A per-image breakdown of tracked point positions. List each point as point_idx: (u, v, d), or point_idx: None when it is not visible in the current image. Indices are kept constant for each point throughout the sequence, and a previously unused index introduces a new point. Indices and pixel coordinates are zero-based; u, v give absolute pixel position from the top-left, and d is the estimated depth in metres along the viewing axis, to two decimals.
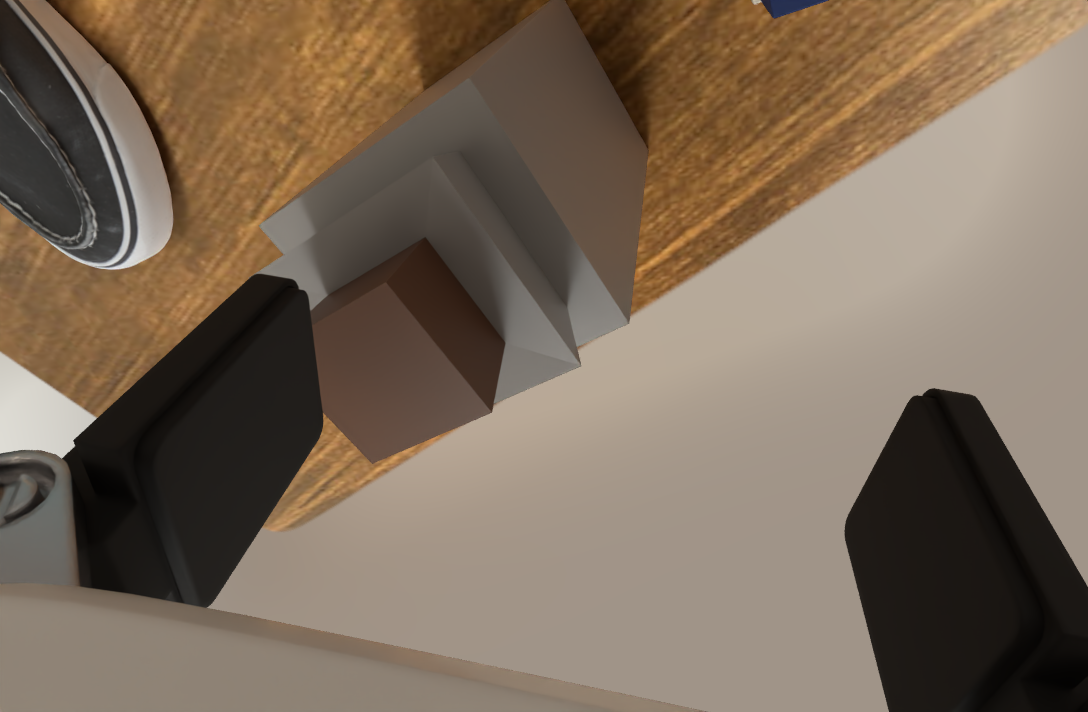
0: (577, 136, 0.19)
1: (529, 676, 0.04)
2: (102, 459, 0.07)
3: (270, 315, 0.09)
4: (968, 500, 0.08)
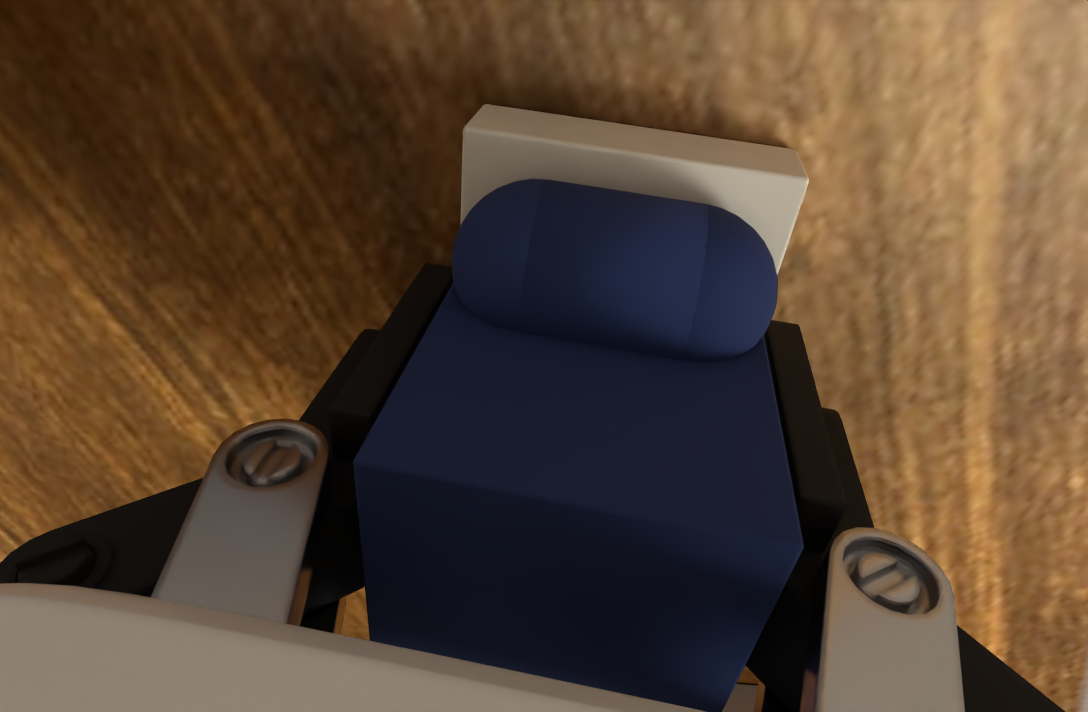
0: None
1: (529, 676, 0.04)
2: (351, 427, 0.08)
3: None
4: None
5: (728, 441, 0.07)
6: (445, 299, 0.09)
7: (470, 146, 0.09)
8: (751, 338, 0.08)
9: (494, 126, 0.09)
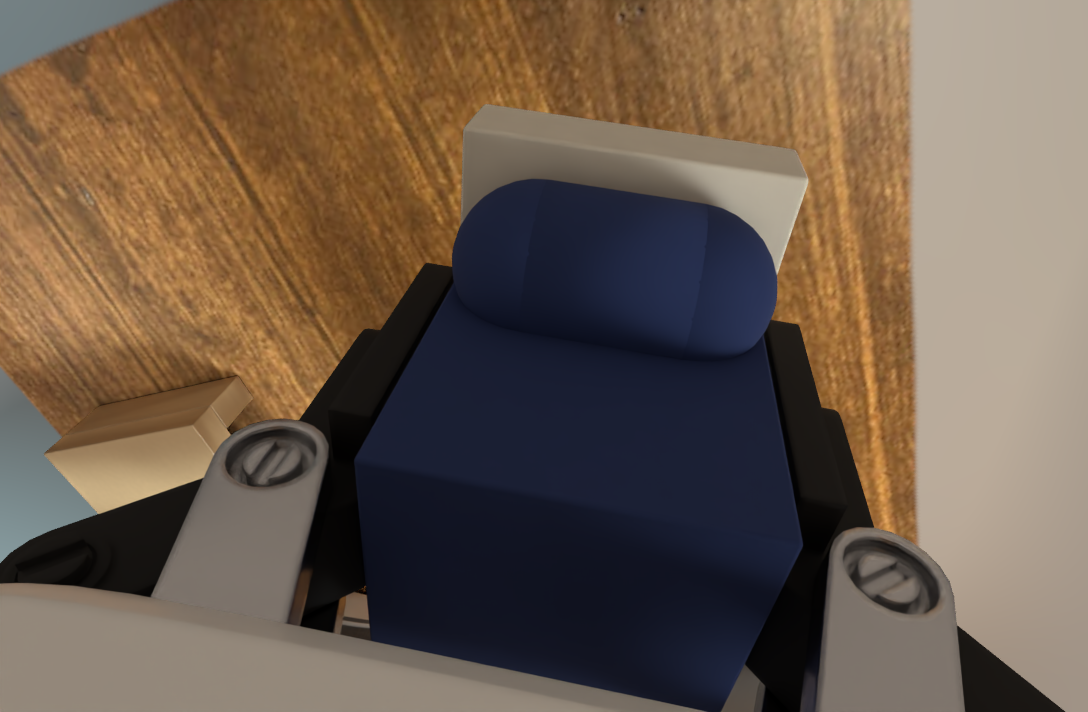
0: None
1: (529, 676, 0.04)
2: (351, 427, 0.08)
3: None
4: None
5: (728, 440, 0.07)
6: (445, 299, 0.09)
7: (470, 146, 0.09)
8: (750, 338, 0.08)
9: (494, 126, 0.09)
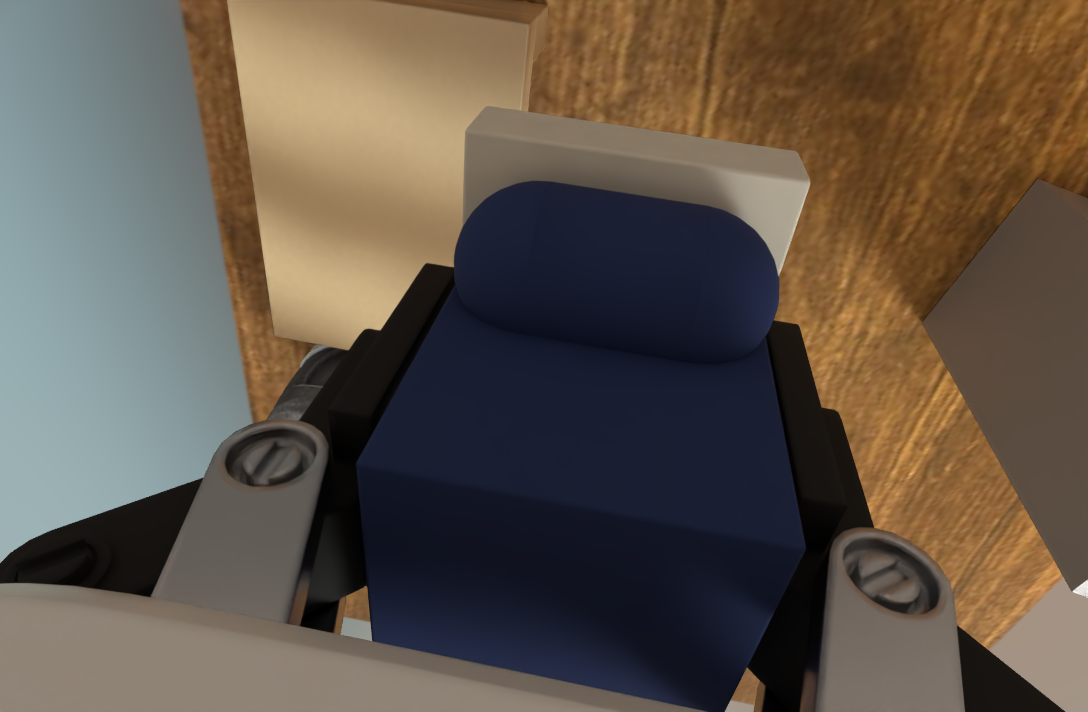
0: None
1: (529, 676, 0.04)
2: (351, 427, 0.08)
3: None
4: None
5: (731, 443, 0.07)
6: (447, 301, 0.09)
7: (472, 148, 0.09)
8: (753, 340, 0.08)
9: (496, 128, 0.09)
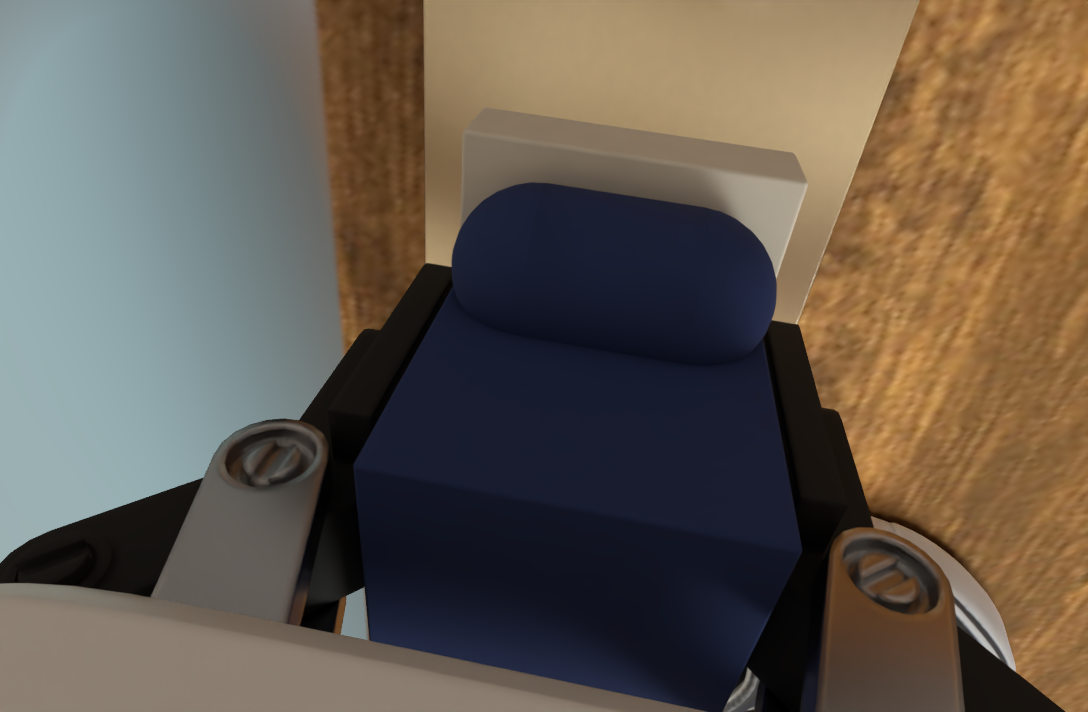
0: None
1: (529, 676, 0.04)
2: (351, 427, 0.08)
3: None
4: None
5: (727, 445, 0.07)
6: (445, 302, 0.09)
7: (470, 150, 0.09)
8: (750, 342, 0.08)
9: (494, 129, 0.09)
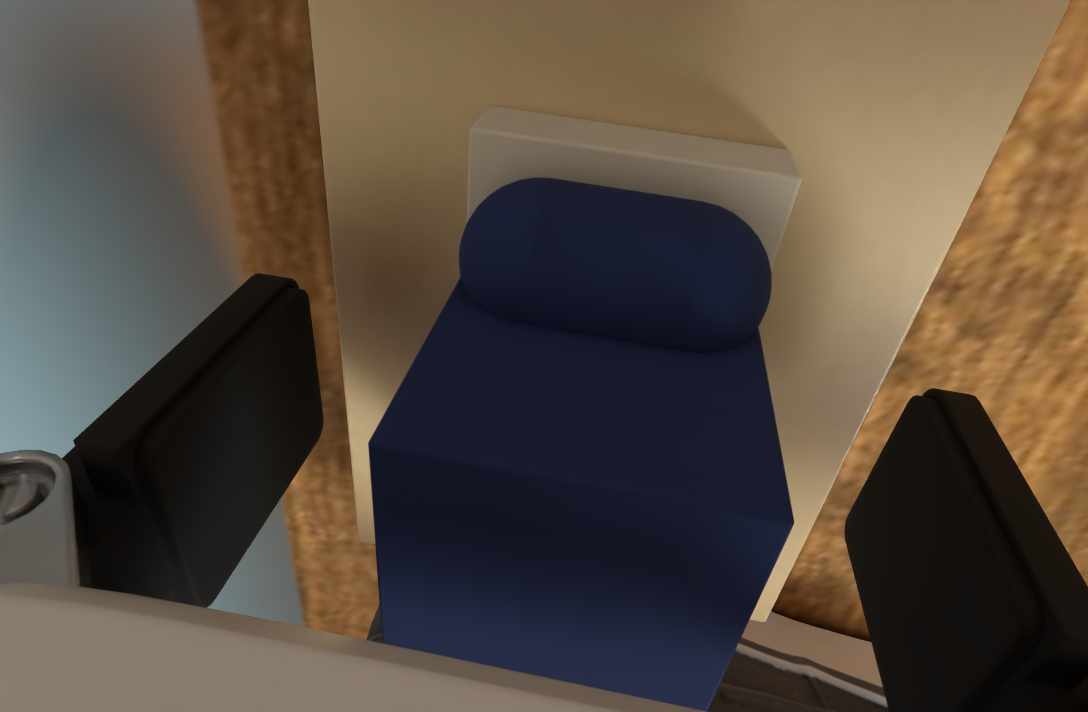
0: None
1: (529, 676, 0.04)
2: (102, 459, 0.07)
3: (270, 315, 0.09)
4: (968, 500, 0.08)
5: (724, 426, 0.07)
6: (452, 293, 0.09)
7: (476, 146, 0.09)
8: (746, 330, 0.09)
9: (498, 127, 0.09)
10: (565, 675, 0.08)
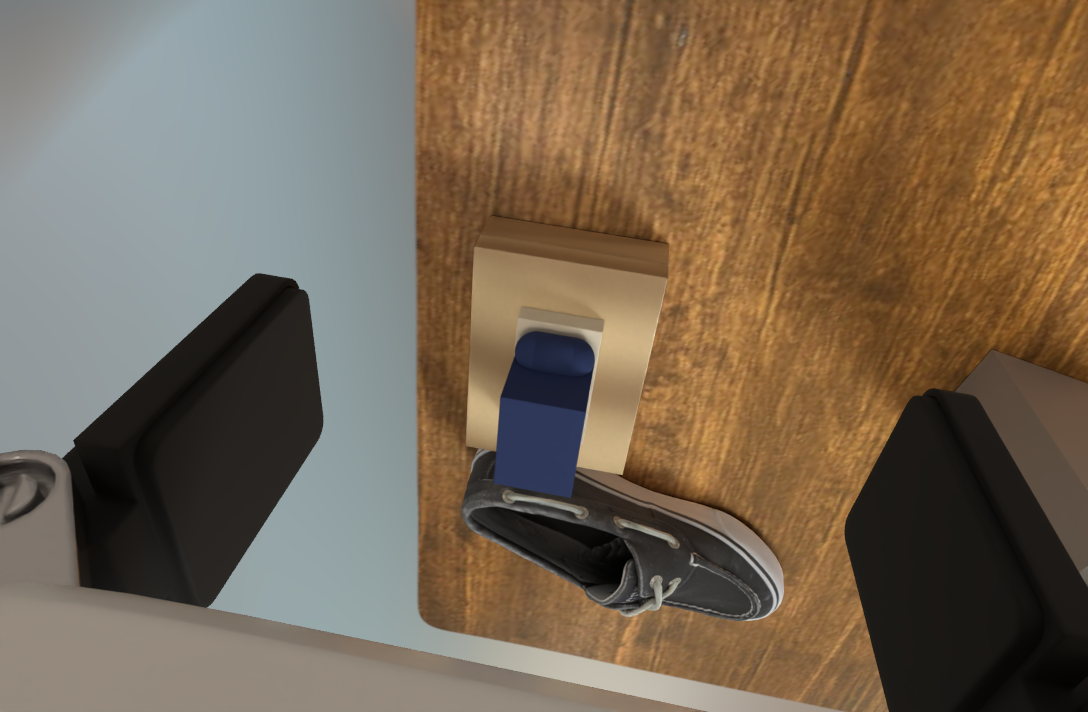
0: None
1: (529, 676, 0.04)
2: (102, 459, 0.07)
3: (270, 315, 0.09)
4: (968, 500, 0.08)
5: (576, 394, 0.33)
6: (513, 361, 0.35)
7: (519, 321, 0.35)
8: (586, 371, 0.35)
9: (525, 317, 0.35)
10: (542, 455, 0.34)
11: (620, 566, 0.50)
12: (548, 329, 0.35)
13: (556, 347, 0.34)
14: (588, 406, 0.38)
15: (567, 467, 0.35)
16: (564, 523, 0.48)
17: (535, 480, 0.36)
